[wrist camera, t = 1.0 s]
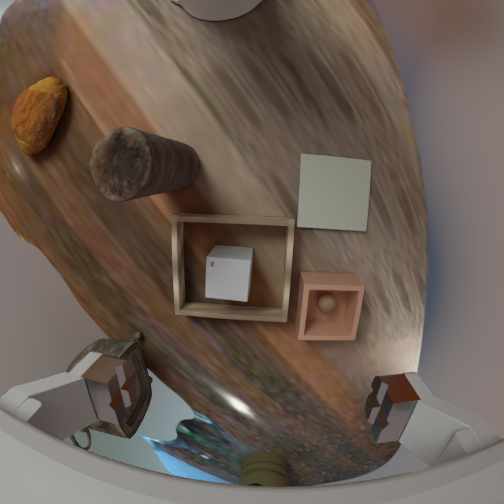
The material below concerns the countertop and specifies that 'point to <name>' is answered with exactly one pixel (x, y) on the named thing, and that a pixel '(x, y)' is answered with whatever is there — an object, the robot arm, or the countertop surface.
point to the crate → (221, 309)
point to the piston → (264, 470)
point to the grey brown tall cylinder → (141, 164)
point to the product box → (229, 273)
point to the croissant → (38, 114)
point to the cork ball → (326, 303)
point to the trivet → (333, 192)
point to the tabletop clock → (139, 374)
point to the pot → (337, 322)
